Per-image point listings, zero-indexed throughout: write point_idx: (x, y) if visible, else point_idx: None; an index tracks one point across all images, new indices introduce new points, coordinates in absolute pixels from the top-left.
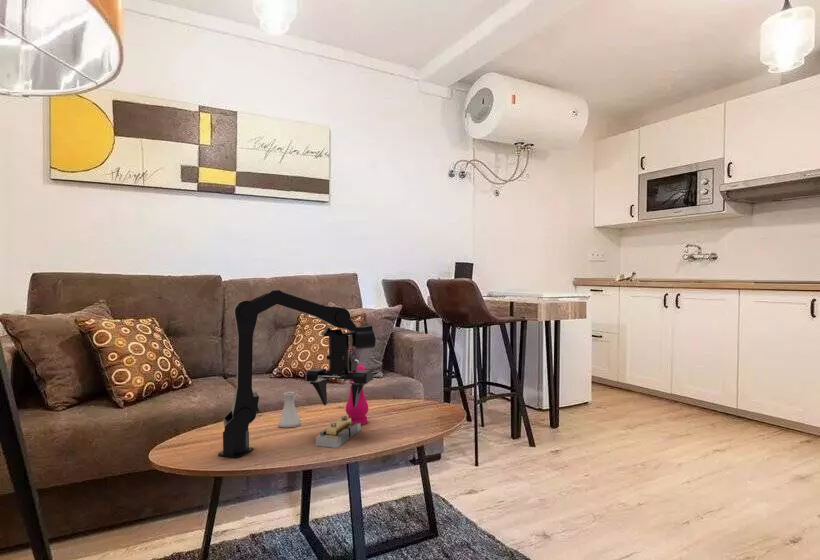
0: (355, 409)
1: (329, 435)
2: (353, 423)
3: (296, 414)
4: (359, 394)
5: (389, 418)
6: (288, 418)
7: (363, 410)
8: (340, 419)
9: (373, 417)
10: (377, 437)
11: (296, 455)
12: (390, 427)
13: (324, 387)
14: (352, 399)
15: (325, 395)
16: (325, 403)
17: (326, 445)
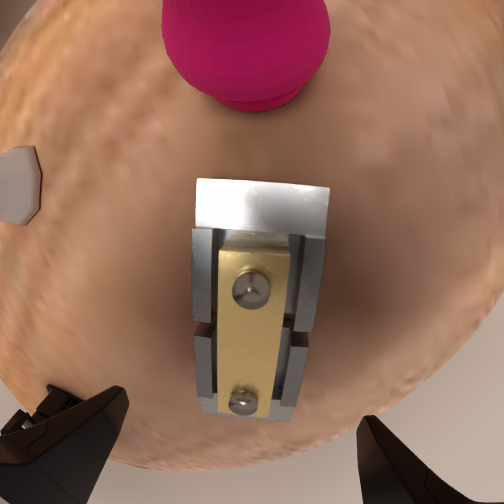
0: (264, 89)
1: None
2: (308, 259)
3: (6, 186)
4: (426, 471)
5: (379, 2)
6: (5, 217)
7: (316, 67)
8: (234, 306)
9: None
10: (415, 275)
11: (197, 438)
12: (437, 126)
13: (53, 478)
14: (362, 487)
15: (91, 438)
16: (124, 407)
17: None
